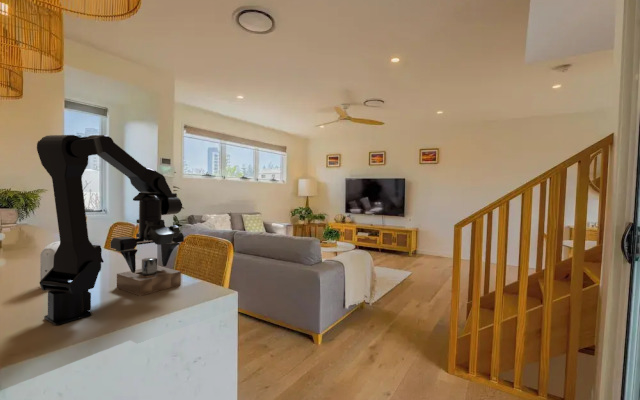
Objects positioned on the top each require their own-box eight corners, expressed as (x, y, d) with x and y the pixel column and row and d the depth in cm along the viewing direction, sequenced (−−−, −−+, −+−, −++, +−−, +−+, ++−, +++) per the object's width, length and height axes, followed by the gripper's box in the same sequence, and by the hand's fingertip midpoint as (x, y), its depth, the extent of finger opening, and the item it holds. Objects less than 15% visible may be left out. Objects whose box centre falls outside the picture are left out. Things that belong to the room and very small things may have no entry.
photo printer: (56, 289, 84) (56, 244, 84) (37, 290, 83) (37, 245, 83) (74, 278, 94) (74, 239, 94) (57, 279, 93) (57, 239, 93)
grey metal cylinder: (146, 289, 86) (146, 261, 86) (138, 286, 88) (138, 259, 88) (159, 285, 90) (160, 258, 90) (152, 283, 92) (152, 257, 92)
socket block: (140, 295, 81) (140, 281, 81) (116, 287, 87) (116, 273, 87) (180, 284, 91) (180, 271, 91) (157, 277, 97) (157, 265, 97)
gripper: (132, 220, 76) (131, 281, 77) (195, 216, 93) (194, 267, 93) (109, 217, 82) (109, 274, 82) (173, 214, 98) (172, 262, 99)
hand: (149, 269), depth 89 cm, fingers open, 9 cm apart
